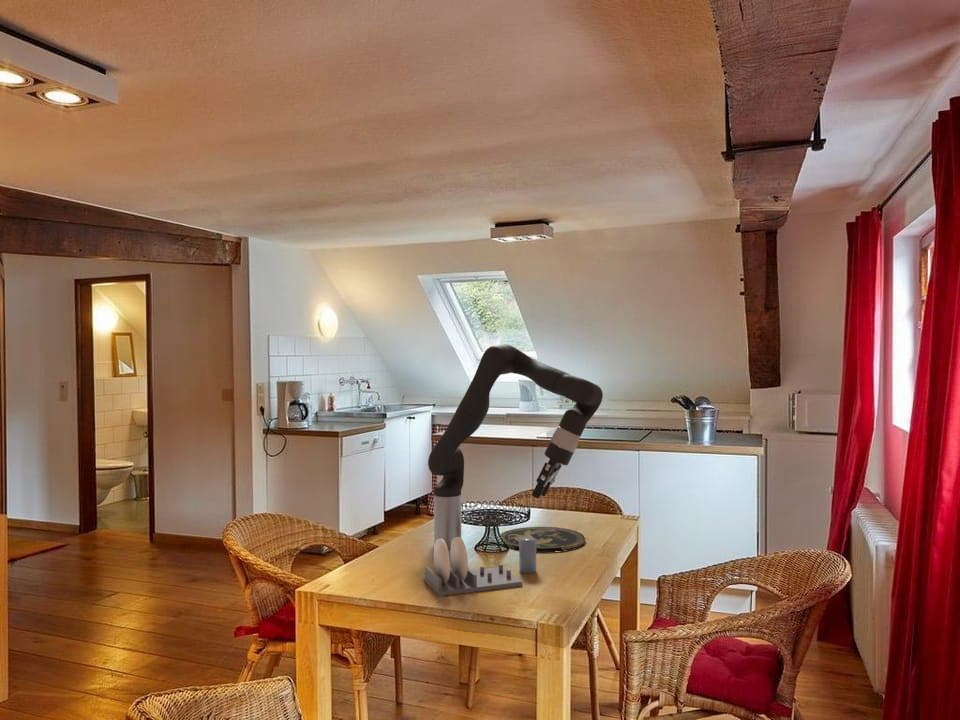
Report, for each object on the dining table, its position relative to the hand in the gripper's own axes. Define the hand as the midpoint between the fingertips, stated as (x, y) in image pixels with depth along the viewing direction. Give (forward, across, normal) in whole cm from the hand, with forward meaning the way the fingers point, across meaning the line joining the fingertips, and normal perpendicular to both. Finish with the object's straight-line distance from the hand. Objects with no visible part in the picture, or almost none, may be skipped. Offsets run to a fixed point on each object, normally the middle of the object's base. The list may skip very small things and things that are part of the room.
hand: (538, 496), depth 207 cm
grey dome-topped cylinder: (+22, -7, +6) cm, 24 cm away
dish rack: (+29, +8, -5) cm, 31 cm away
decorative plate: (+20, -42, +1) cm, 47 cm away
